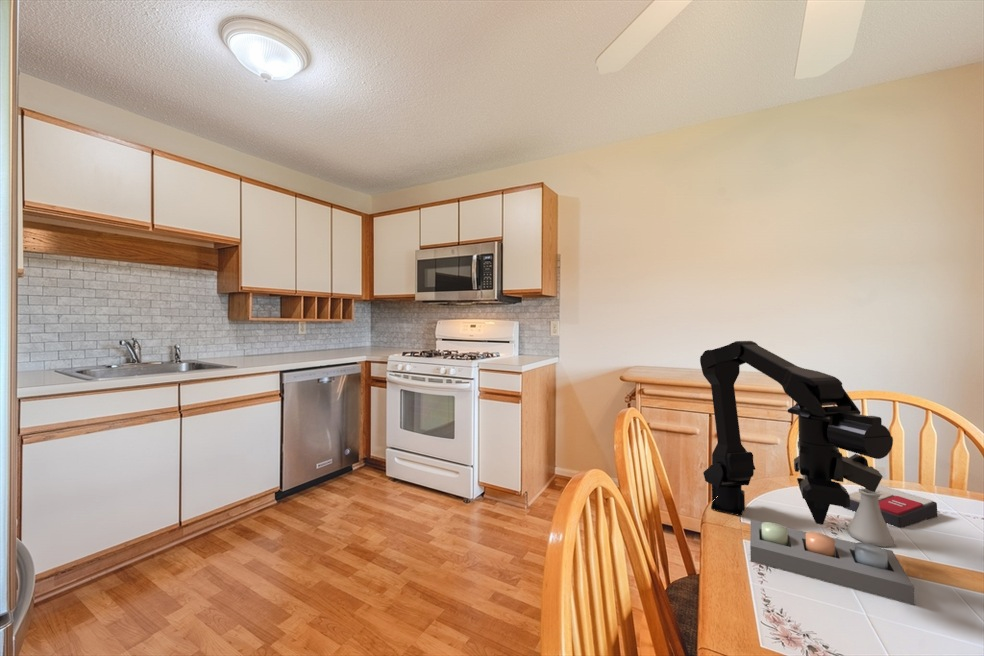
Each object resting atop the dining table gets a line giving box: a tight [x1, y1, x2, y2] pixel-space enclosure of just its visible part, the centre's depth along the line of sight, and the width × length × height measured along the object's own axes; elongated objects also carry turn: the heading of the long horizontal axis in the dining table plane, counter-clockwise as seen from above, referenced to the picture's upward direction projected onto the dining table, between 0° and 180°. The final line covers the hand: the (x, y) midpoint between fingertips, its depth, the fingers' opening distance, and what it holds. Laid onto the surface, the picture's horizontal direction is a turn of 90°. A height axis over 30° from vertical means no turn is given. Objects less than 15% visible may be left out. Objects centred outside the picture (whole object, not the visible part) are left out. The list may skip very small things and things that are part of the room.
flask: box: [846, 488, 897, 548], centre depth 82 cm, size 7×7×10 cm
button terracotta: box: [806, 531, 835, 558], centre depth 73 cm, size 4×4×3 cm
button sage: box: [762, 521, 788, 546], centre depth 77 cm, size 4×4×3 cm
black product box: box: [842, 484, 938, 529], centre depth 93 cm, size 11×4×15 cm
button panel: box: [749, 519, 916, 606], centre depth 73 cm, size 22×12×3 cm, turn 56°
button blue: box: [855, 541, 888, 570], centre depth 69 cm, size 4×4×3 cm
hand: (819, 523), depth 73 cm, fingers closed
